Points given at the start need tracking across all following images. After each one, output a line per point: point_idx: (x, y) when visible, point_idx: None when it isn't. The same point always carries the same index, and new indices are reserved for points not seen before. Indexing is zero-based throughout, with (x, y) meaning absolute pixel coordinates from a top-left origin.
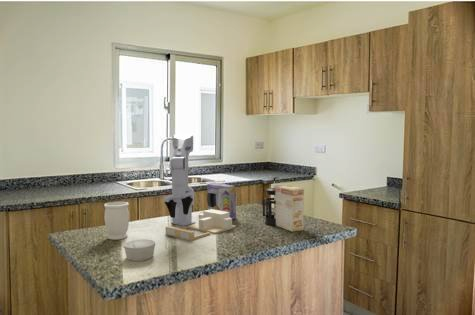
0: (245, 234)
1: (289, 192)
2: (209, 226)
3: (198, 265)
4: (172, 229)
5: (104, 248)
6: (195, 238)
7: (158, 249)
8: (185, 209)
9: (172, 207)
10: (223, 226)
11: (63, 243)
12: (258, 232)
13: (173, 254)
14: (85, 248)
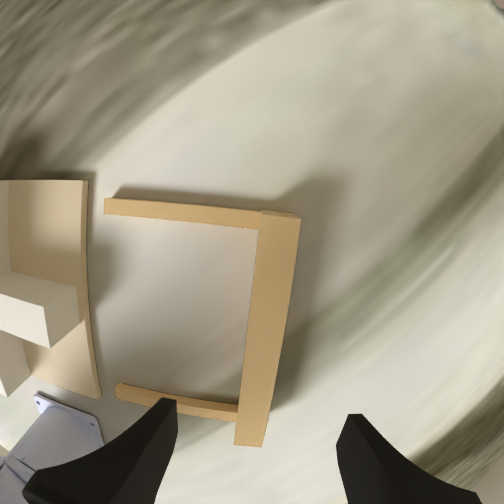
0: (38, 53)
1: None
2: (34, 280)
3: (499, 15)
4: (271, 397)
5: (493, 420)
6: (246, 209)
7: (482, 265)
8: (161, 449)
9: (434, 480)
10: (2, 204)
11: None
12: (4, 45)
13: (499, 153)
14: (493, 446)
